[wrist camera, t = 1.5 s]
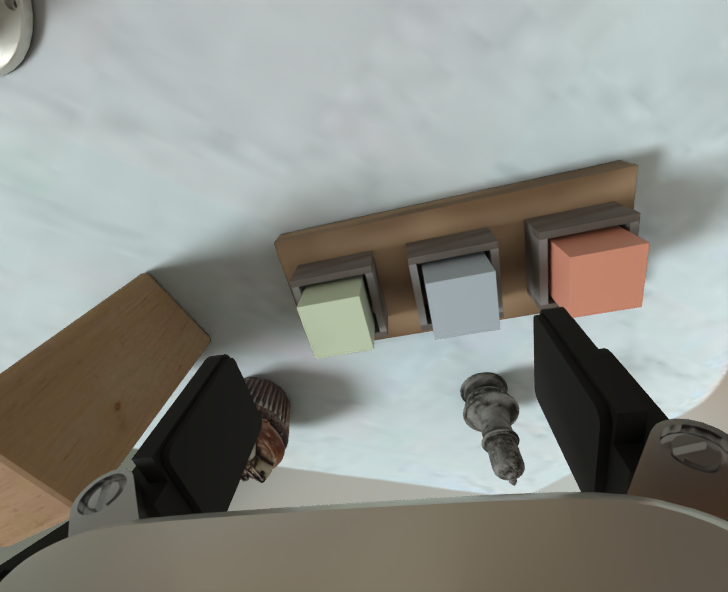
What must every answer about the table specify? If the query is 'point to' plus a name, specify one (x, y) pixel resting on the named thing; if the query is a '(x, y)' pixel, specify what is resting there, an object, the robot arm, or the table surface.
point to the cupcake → (268, 428)
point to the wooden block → (87, 401)
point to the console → (462, 242)
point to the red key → (597, 270)
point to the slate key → (461, 295)
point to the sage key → (337, 317)
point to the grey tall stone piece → (494, 422)
